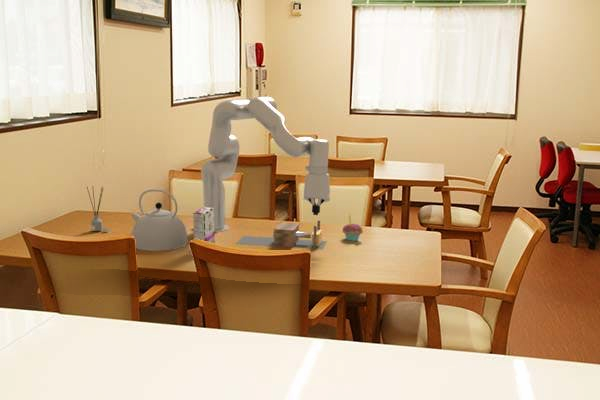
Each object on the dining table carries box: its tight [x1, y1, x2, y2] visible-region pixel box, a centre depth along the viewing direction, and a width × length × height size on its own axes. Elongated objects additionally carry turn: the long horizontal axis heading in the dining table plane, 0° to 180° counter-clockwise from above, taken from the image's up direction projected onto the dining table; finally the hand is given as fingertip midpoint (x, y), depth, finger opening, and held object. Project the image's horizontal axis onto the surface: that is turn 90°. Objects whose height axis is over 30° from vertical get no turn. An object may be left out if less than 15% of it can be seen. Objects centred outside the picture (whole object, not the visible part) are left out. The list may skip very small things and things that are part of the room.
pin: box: [272, 227, 312, 239], centre depth 270 cm, size 15×5×5 cm, turn 80°
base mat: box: [235, 235, 328, 250], centre depth 271 cm, size 36×13×1 cm, turn 80°
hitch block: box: [273, 220, 321, 248], centre depth 269 cm, size 17×12×9 cm
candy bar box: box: [193, 206, 216, 244], centre depth 258 cm, size 11×5×16 cm, turn 168°
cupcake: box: [342, 214, 364, 242], centre depth 278 cm, size 9×8×12 cm
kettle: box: [130, 188, 188, 252], centre depth 267 cm, size 25×23×22 cm
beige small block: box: [311, 229, 323, 247], centre depth 268 cm, size 3×8×5 cm, turn 170°
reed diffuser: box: [86, 185, 109, 233], centre depth 284 cm, size 10×7×20 cm
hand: (315, 214), depth 266 cm, fingers closed
